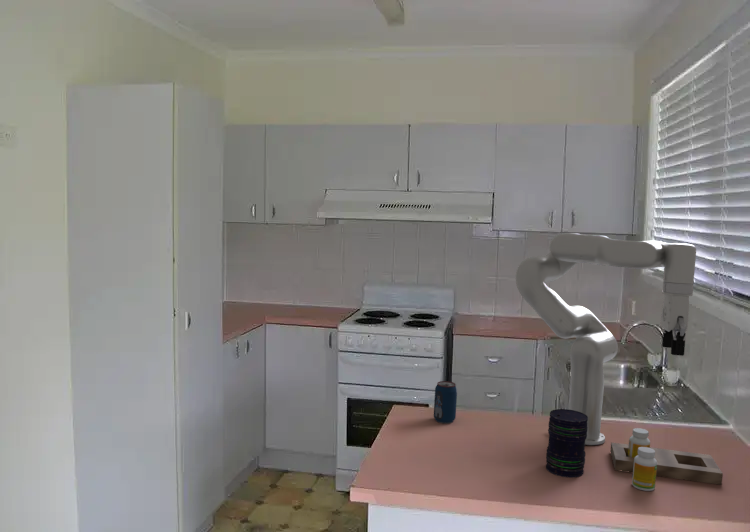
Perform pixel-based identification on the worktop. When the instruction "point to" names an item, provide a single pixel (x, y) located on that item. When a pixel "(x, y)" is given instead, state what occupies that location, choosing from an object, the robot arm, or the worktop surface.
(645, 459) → the supplement bottle
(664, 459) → the bottle rack
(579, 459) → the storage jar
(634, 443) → the supplement bottle
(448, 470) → the worktop surface
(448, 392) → the soda can
